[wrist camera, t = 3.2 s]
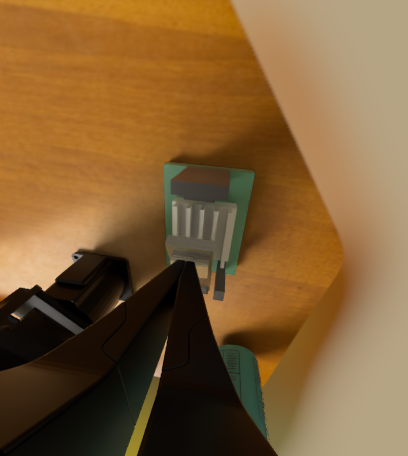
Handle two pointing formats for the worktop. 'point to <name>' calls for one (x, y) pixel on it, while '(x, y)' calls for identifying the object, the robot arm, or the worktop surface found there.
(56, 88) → the worktop surface
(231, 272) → the board
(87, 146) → the worktop surface
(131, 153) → the worktop surface
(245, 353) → the beverage bottle
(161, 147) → the worktop surface
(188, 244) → the strap
